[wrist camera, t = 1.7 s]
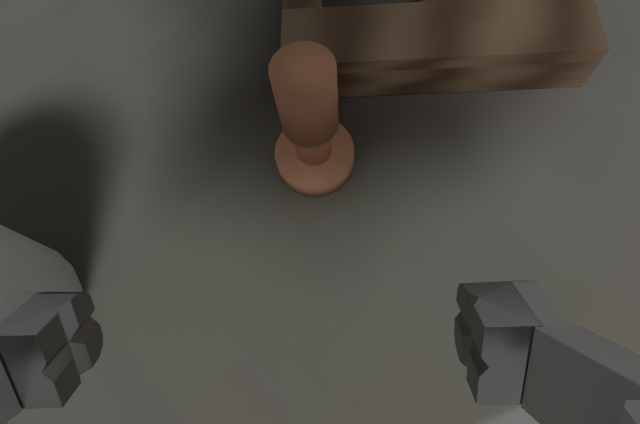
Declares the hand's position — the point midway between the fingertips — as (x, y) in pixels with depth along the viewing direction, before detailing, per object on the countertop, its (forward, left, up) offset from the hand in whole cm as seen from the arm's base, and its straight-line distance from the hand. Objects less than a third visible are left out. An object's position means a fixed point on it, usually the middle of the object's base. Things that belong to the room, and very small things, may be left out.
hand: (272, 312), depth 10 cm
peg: (0, +12, -15) cm, 20 cm away
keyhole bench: (+8, +25, -15) cm, 30 cm away
